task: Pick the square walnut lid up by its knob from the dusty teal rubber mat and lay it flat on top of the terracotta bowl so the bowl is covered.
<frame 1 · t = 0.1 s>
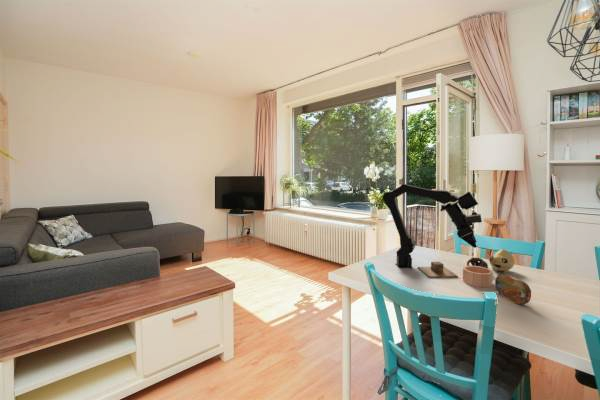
hand: (475, 244, 139), 15 cm above the table, tool tilted 30°, fingers open, 9 cm apart
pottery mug: (477, 272, 146), on the table
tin: (511, 299, 117), on the table
terracotta bowl: (477, 283, 132), on the table
yellow rounded lump: (500, 271, 147), on the table
walnut lid: (436, 272, 144), resting on teal mat
teal mat: (436, 273, 144), on the table
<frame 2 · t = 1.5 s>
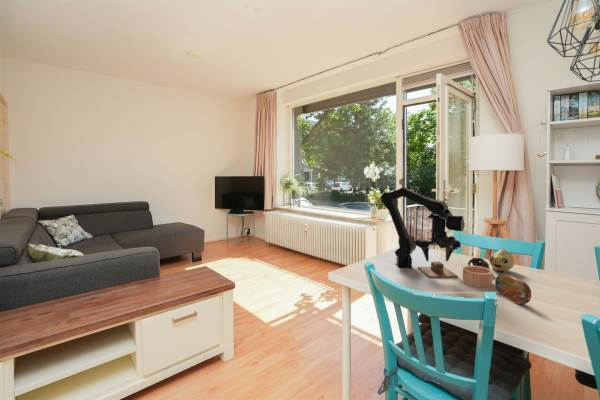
hand: (437, 261, 144), 6 cm above the table, tool pointing down, fingers open, 9 cm apart
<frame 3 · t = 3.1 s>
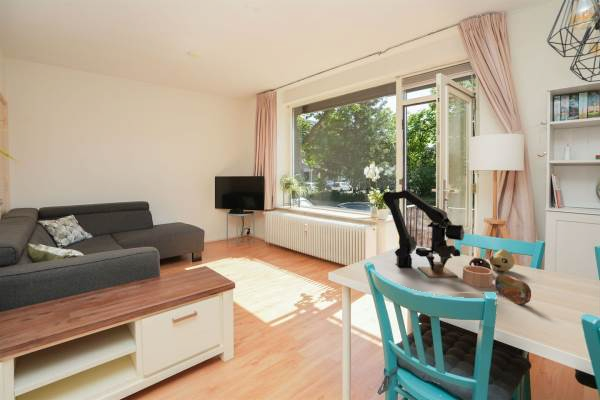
hand: (437, 269, 144), 2 cm above the table, tool pointing down, fingers closed on walnut lid, 4 cm apart
walnut lid: (436, 272, 144), resting on teal mat, touching gripper
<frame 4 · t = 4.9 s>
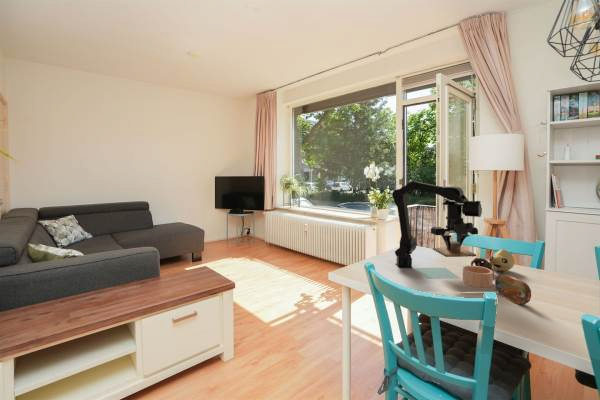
hand: (453, 249, 138), 13 cm above the table, tool pointing down, fingers closed on walnut lid, 4 cm apart
walnut lid: (453, 252, 138), point 12 cm above the table, touching gripper
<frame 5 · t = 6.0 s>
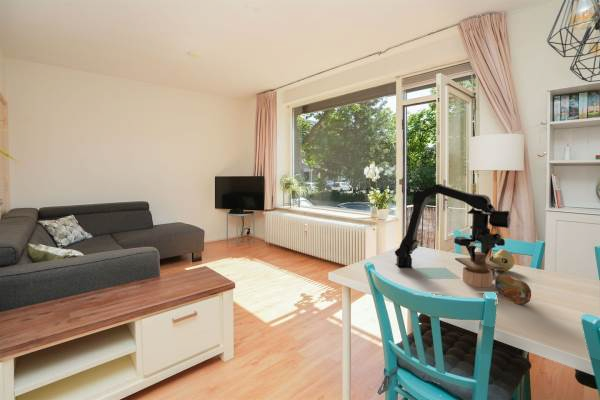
hand: (477, 260, 131), 10 cm above the table, tool pointing down, fingers closed on walnut lid, 4 cm apart
walnut lid: (477, 264, 132), point 9 cm above the table, touching gripper
when the fingers open (9 cm above the table, at t = 6.9 s): walnut lid drops 1 cm, resting on terracotta bowl.
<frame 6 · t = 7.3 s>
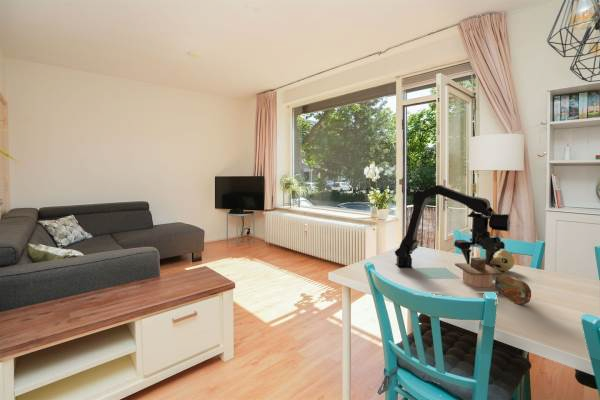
hand: (477, 263, 132), 9 cm above the table, tool pointing down, fingers open, 8 cm apart
walnut lid: (477, 269, 132), point 6 cm above the table, touching terracotta bowl
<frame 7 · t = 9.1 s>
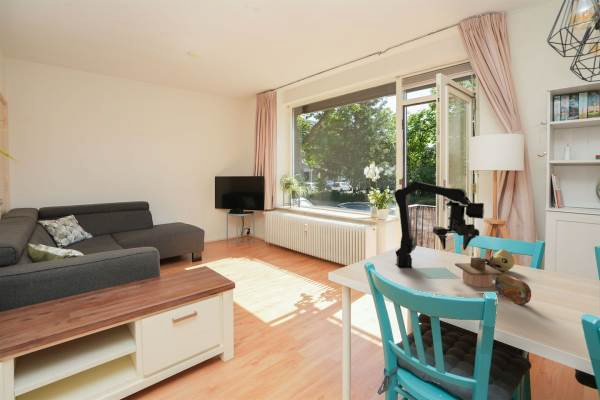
hand: (454, 249, 141), 12 cm above the table, tool pointing down, fingers open, 9 cm apart
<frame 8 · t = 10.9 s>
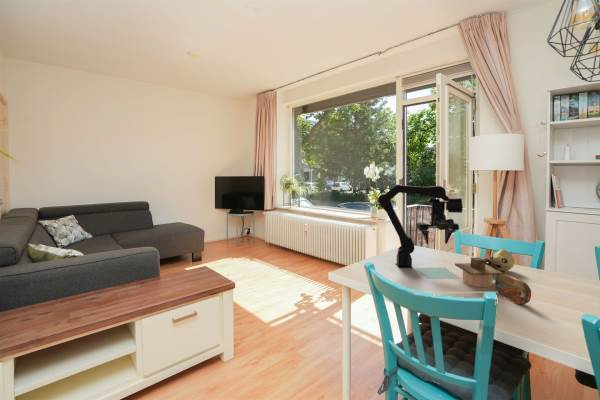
hand: (436, 243, 149), 13 cm above the table, tool pointing down, fingers open, 9 cm apart
at the end: walnut lid 0.0 cm off-centre on the terracotta bowl, point 6.0 cm above the terracotta bowl's base; walnut lid tilted 0°; walnut lid touching terracotta bowl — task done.
